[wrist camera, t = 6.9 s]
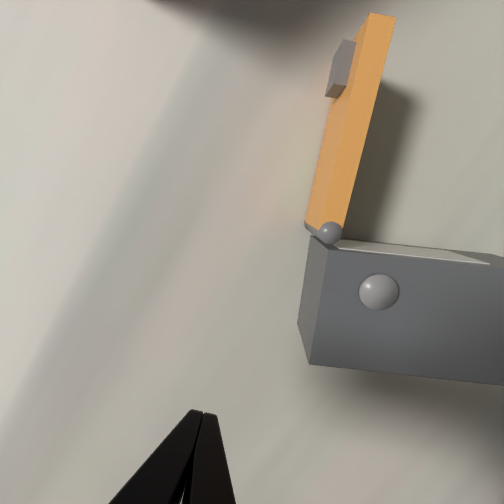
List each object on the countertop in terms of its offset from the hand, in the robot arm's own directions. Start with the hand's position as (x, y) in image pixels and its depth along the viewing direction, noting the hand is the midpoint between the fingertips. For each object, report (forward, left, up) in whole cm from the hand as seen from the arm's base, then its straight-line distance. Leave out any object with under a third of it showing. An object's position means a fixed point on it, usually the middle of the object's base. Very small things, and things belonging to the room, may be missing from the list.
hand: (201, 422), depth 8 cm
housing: (+1, -12, -12) cm, 17 cm away
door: (+10, -5, -12) cm, 16 cm away
